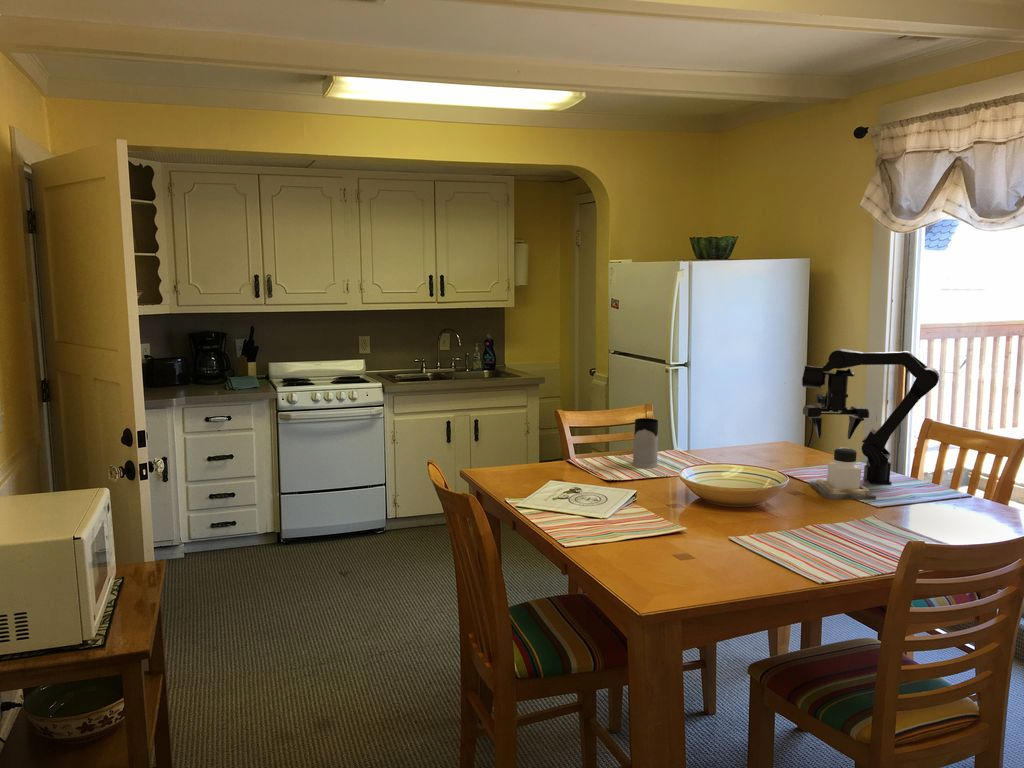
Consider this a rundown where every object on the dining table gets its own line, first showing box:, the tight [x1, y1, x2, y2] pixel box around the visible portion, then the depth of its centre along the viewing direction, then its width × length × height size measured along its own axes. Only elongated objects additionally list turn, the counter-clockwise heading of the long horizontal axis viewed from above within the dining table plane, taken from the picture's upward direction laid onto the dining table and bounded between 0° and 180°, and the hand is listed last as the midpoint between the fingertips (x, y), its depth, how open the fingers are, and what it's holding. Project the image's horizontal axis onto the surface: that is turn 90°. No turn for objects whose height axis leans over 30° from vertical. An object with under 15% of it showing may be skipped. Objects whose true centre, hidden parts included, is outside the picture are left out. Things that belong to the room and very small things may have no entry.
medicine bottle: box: [826, 447, 862, 489], centre depth 241 cm, size 7×7×12 cm
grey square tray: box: [810, 478, 877, 500], centre depth 242 cm, size 14×14×2 cm
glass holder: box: [631, 417, 659, 469], centre depth 273 cm, size 9×14×15 cm, turn 163°
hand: (833, 438), depth 258 cm, fingers open, 9 cm apart
